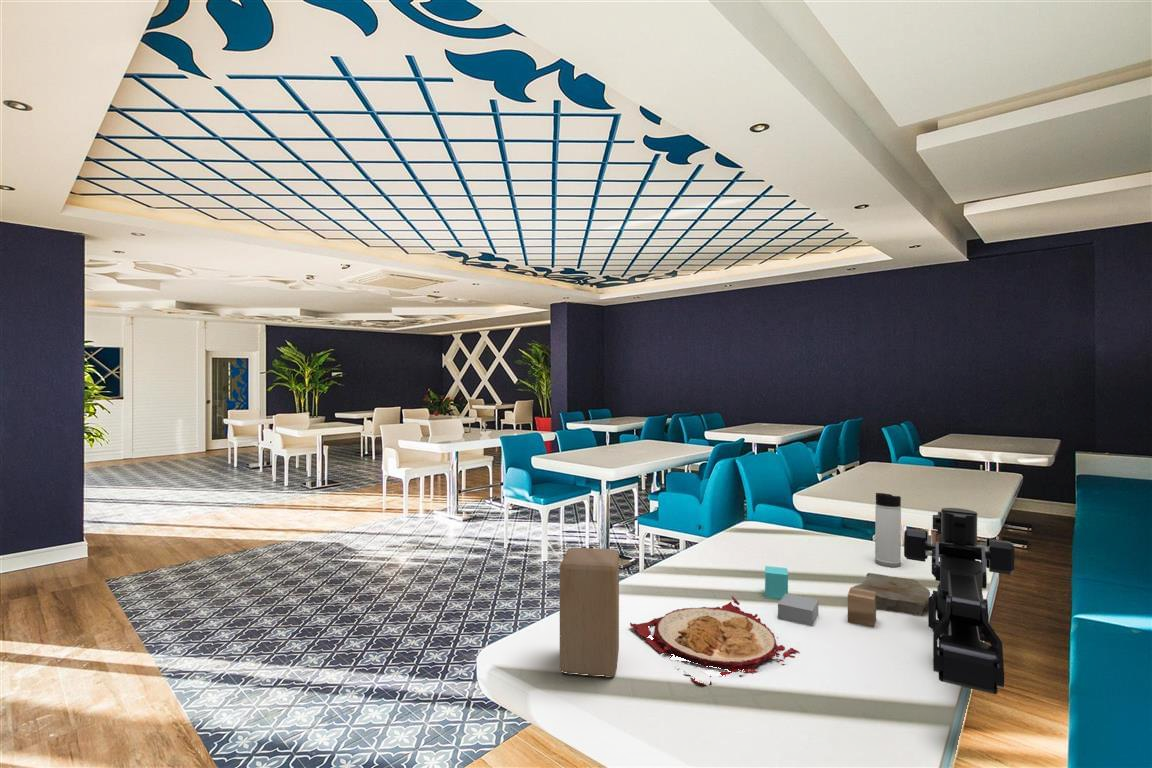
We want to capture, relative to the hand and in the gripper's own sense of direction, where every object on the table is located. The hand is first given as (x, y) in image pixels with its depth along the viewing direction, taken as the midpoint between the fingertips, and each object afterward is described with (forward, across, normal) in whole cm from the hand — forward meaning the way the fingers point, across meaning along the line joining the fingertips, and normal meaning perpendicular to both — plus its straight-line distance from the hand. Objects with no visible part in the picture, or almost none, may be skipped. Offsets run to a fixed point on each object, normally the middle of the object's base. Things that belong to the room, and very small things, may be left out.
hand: (955, 540), depth 123 cm
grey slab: (-18, +29, +17) cm, 38 cm away
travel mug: (+32, +15, +17) cm, 39 cm away
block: (-60, +57, +17) cm, 85 cm away
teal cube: (-8, +36, +17) cm, 40 cm away
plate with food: (-39, +40, +18) cm, 59 cm away
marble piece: (+3, +13, +17) cm, 22 cm away
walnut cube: (-13, +17, +17) cm, 27 cm away
